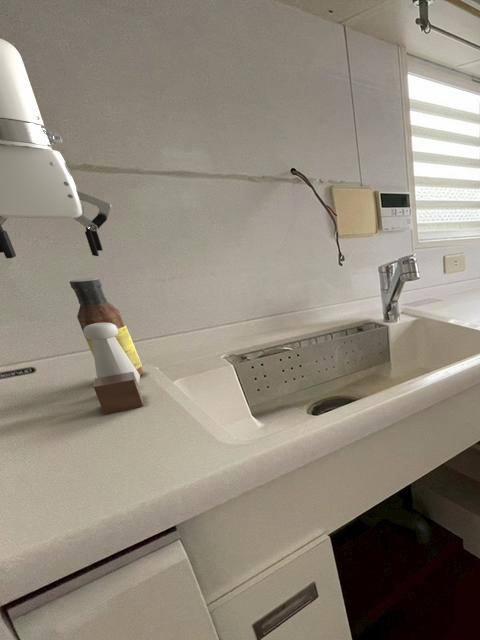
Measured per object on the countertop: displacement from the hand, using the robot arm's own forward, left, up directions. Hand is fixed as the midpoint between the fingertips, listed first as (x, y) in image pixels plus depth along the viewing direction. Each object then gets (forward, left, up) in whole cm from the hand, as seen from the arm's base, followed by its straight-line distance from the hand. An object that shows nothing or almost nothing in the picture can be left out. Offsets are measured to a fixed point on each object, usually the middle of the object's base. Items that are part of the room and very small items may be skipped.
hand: (55, 256), depth 66 cm
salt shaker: (+2, +2, -25) cm, 25 cm away
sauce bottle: (-6, +5, -25) cm, 26 cm away
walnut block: (+9, -1, -25) cm, 26 cm away
